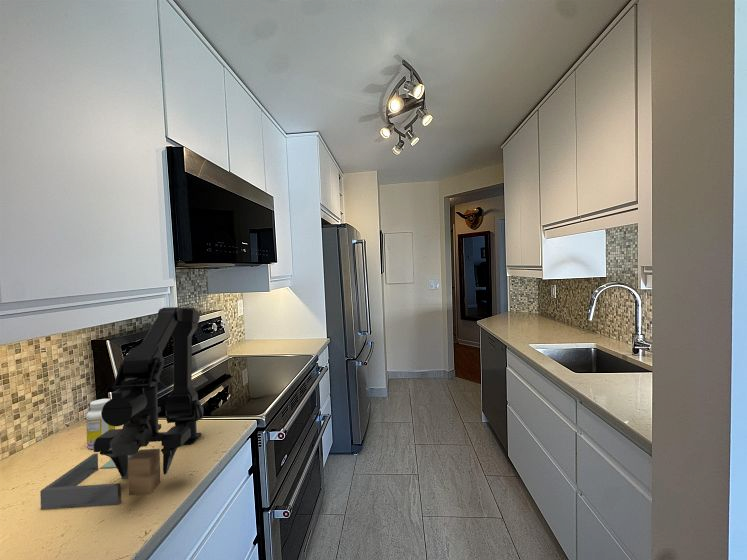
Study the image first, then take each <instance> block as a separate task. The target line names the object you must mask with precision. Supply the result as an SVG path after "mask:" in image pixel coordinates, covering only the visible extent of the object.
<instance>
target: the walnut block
mask: <svg viewBox="0 0 747 560" xmlns="http://www.w3.org/2000/svg"><path fill="white" fill-rule="evenodd" d="M127 482H128V496H136V495H137V496H139V495H150V494H151V493H152V492H153V491H154V490H155V489H156V488H157V487H158V485H159V484H160V483H161V449H160V448H149V449H148V448H146V449H139V451H138V452H137V453H136V454H134V455H133V456H132V457H131V458H129V459H128V481H127ZM155 487H156V488H155Z"/></svg>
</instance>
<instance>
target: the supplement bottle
mask: <svg viewBox="0 0 747 560" xmlns="http://www.w3.org/2000/svg"><path fill="white" fill-rule="evenodd" d="M109 400H111V399H110V398H101V399H96V400H93V401H91V402H90V403H89V408H90V410H89V411H88V412H87V414H86V415H85V422H86V423H85V424H86V425H85V427H86V446H87V448H88V449H90V450H93V444H94V441H95V440H96V439H97V438H98V437H99V436H101V435H102V434H104V433H106V432H107V431H109V430H111V429H116V426H111V425H108V424H107V423H106V422H105V421H104V420H103V418H102V415H101V411H102V409H103V406H104V405H105V404H106V403H107V402H108V401H109Z"/></svg>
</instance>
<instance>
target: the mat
mask: <svg viewBox="0 0 747 560" xmlns="http://www.w3.org/2000/svg"><path fill="white" fill-rule="evenodd" d="M100 469H104V470H105V469H117V467H116V466H115V464H114V462H113V461H112V459H111V458H110V459H109V460H108V461H107V462H105V463H104V464H103V465H102V466H100Z"/></svg>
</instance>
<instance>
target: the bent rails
mask: <svg viewBox="0 0 747 560" xmlns="http://www.w3.org/2000/svg"><path fill="white" fill-rule="evenodd" d="M132 456H133V455H130V456H128V459H129V458H131V457H132ZM97 470H99V452H94V453H92V454H91V455H89V456H88V457H86V459H84V460H82V461H81V462H80V463H78V464H77V465H75V466H74V467H72V468H71V469H70V470H68V471H67V472H65V473H64V474H62V475H60V476H59V477H58V478H56V479H55V480H53V481H52V482H51V483H49V484H48V485H46V486H45V487H44V488H42V489H41V490H40V492H39V493H40V494H39V495H40V510H41V511H42V510H55V509H58V510H59V509H71V508H72V509H73V508H86V507H98V506H99V507H100V506H112V505H113V506H114V505H115V506H118V505H119V504H120V503H121V502H122V483H104V484H88V485H85V484H83V485H79V484H81V483H82V482H83V481H84V480H86V479H87V478H88V477H90V476H91V475H92V474H93V473H95V472H96V471H97ZM120 479H121V480H124V479H125V480H127V479H128V467H127V473H126V475H125V476H124V477H121V476H120Z"/></svg>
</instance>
